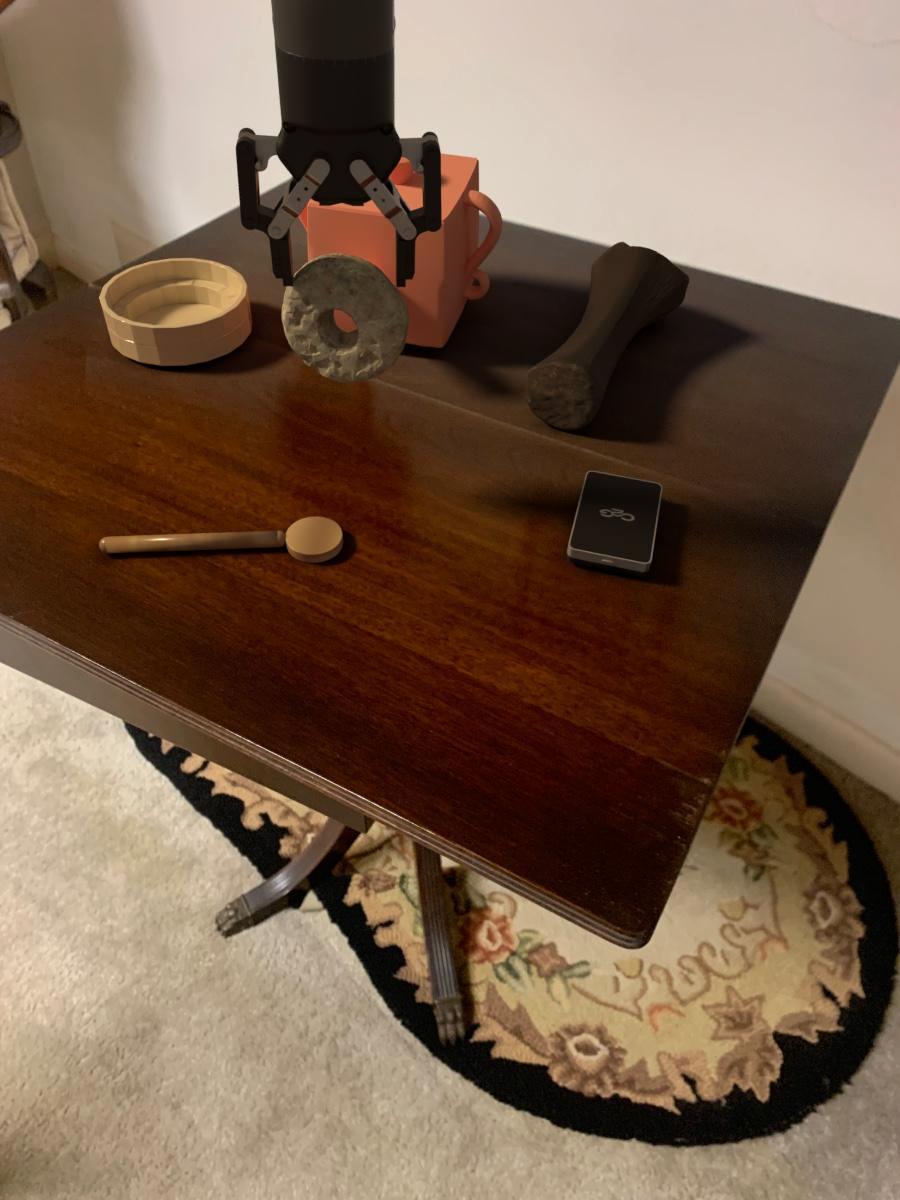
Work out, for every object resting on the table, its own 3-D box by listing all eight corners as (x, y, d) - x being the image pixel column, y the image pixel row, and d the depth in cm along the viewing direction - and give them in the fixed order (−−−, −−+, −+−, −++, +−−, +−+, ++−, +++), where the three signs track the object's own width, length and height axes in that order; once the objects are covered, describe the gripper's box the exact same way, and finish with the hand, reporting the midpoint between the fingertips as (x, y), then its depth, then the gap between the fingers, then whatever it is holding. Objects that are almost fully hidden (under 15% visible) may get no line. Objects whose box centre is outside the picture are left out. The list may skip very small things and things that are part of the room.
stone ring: (281, 374, 73) (268, 255, 66) (299, 353, 75) (289, 236, 68) (397, 399, 71) (397, 280, 64) (412, 377, 73) (414, 260, 66)
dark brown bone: (620, 316, 108) (536, 464, 93) (589, 237, 102) (494, 381, 87) (706, 297, 101) (631, 454, 86) (679, 211, 95) (593, 363, 80)
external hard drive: (658, 500, 81) (663, 483, 79) (645, 583, 73) (650, 566, 72) (583, 486, 82) (586, 469, 80) (563, 566, 75) (566, 549, 73)
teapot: (464, 406, 90) (474, 234, 77) (255, 373, 93) (230, 201, 80) (507, 291, 107) (521, 134, 94) (329, 266, 110) (318, 110, 97)
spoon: (96, 571, 72) (91, 559, 71) (106, 532, 76) (102, 519, 75) (343, 562, 74) (342, 549, 73) (343, 523, 77) (342, 511, 76)
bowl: (100, 372, 92) (87, 328, 89) (123, 300, 103) (113, 258, 99) (247, 369, 94) (241, 326, 90) (256, 298, 104) (250, 257, 100)
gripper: (212, 51, 52) (246, 306, 64) (452, 57, 54) (442, 307, 65) (224, 16, 57) (253, 259, 69) (443, 23, 59) (435, 260, 70)
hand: (345, 282), depth 67 cm, fingers closed on stone ring, 8 cm apart
